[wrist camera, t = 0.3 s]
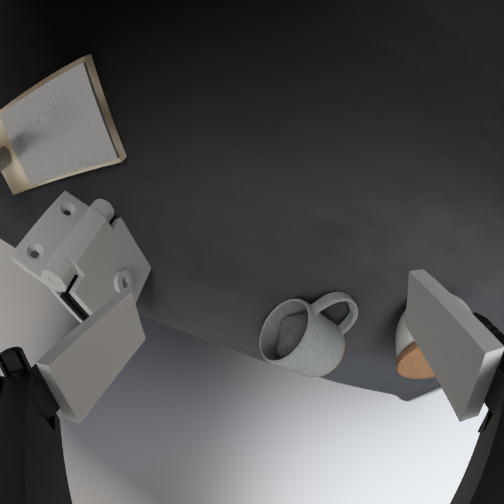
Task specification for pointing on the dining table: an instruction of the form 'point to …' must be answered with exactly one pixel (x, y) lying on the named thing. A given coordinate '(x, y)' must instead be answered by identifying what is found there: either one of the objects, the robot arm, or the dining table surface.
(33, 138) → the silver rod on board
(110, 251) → the hinge
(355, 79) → the dining table surface
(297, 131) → the dining table surface
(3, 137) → the mounting board
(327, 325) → the ceramic mug
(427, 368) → the lidded jar
